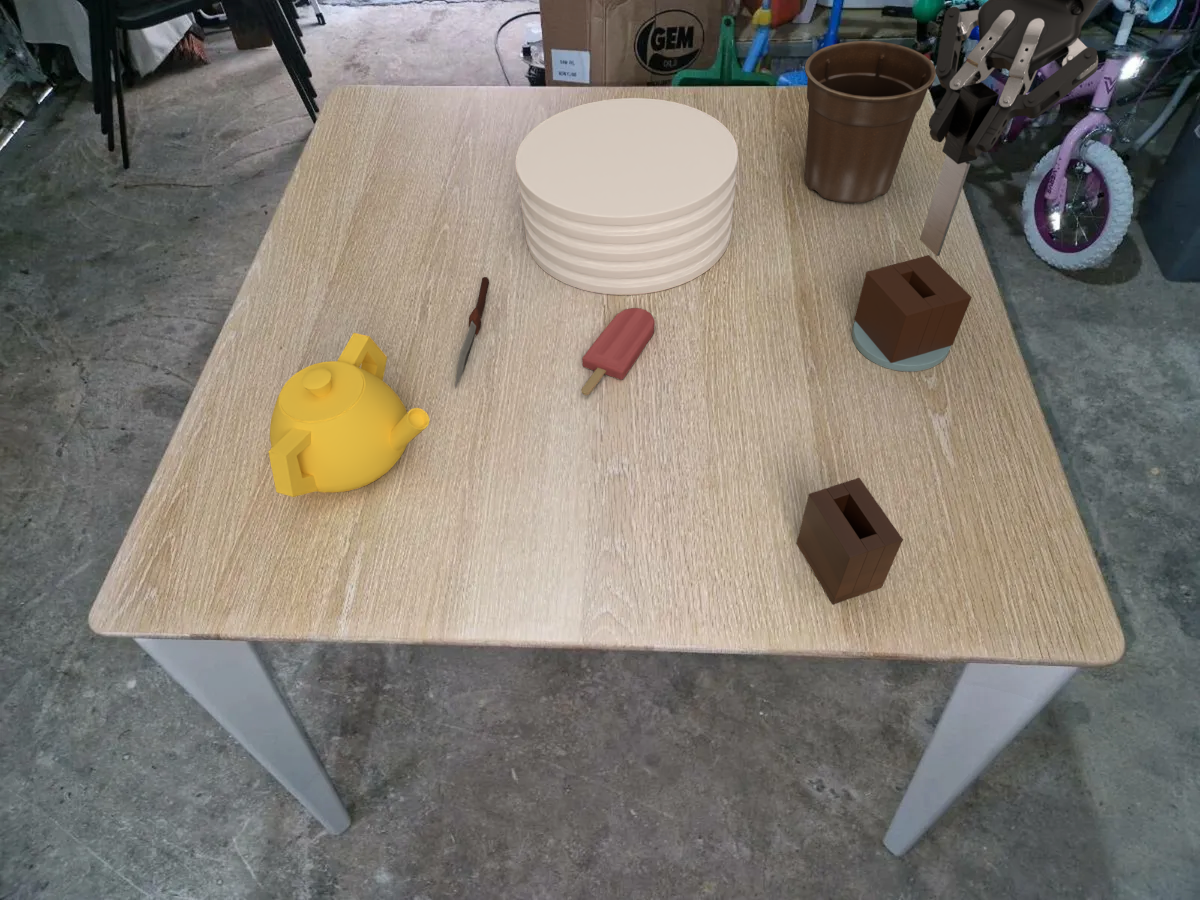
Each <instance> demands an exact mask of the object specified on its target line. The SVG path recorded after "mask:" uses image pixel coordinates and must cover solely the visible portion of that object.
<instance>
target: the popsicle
mask: <svg viewBox="0 0 1200 900" xmlns="http://www.w3.org/2000/svg"><path fill="white" fill-rule="evenodd" d="M655 321H656V320H655V318H654V316H653V315H652V313H651V312H649V311H648V310H646V309H644V308H640V307H630V308H625V309H623V310H621V311H620V312H618V313H616V315H615V316H614V317H613V319H612V320H611V321H610V322H609V323H608V325H607V326H606V327H605V328H604V329H603V331H602V332H601V333H600V334H599V335H598V337H597V338H596V339H595V341H594V342H593V343H592V345H591V346H590V347H589V349H588V350H587V351H586V352H585V353H584V355H583V356H582V358H581V363H582V364H581V365H582V367H583V368H585V369H587V370H591V371H593V373H592V374H591V375H590V376H589V378H588V379H587V381H586V382H585V384H584V385H583V386H582V388H581V389H580V393H581V394H582V395H584V396H589V395H591V394H592V393H593V391H594V390H595V388H596V386H598V384H599V383H600V381H601V380H602V378H603V377H604V376H605V375H606V376H609V377H611V378H615V379H617V380H620V381H623V380H624V379H625V377H626V376H627V375H628V373H629V371H630V370H631V369H632V367H633V366H634V365H635V363H636V362H637V360H638V358H639V357H640V356H641V354H642V352H643V351H644V350H645V348H646V346H647V344H648V343H649V342H650V340H651V338H652V337H653V335H654V334H655V328H656V327H655V325H656V322H655Z"/></svg>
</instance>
